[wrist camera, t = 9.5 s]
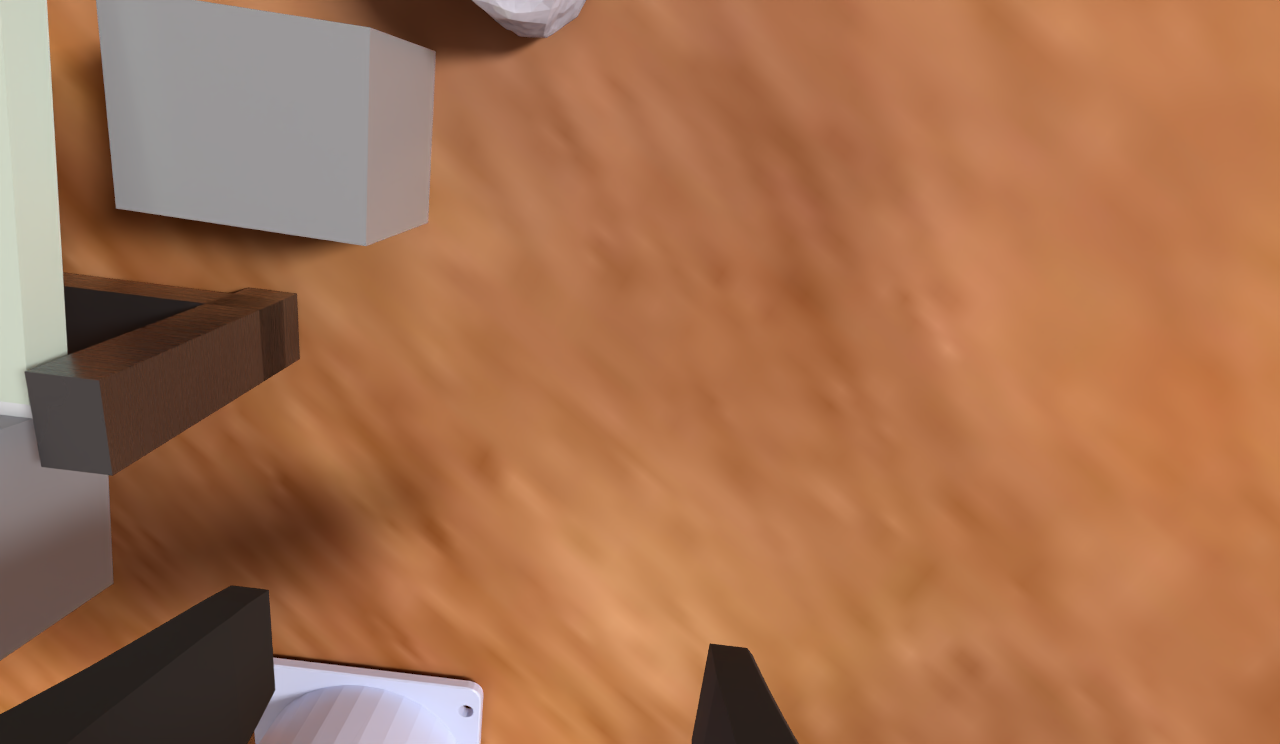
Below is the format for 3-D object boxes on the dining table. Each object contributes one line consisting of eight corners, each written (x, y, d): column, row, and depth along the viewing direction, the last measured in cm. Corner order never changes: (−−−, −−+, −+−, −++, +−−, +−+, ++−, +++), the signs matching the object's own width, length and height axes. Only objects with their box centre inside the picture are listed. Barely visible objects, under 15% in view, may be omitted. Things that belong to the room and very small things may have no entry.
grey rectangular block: (225, 19, 18) (437, 51, 18) (232, 192, 20) (429, 222, 20) (94, -16, 14) (369, 27, 14) (115, 208, 15) (365, 246, 15)
